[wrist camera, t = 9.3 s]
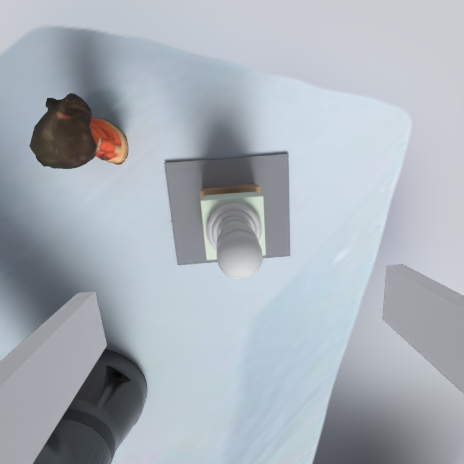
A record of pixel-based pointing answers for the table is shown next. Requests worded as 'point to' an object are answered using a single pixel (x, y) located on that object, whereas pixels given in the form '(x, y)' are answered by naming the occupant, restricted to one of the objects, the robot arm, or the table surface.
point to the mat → (227, 174)
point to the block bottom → (228, 191)
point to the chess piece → (236, 239)
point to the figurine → (75, 136)
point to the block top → (218, 200)
